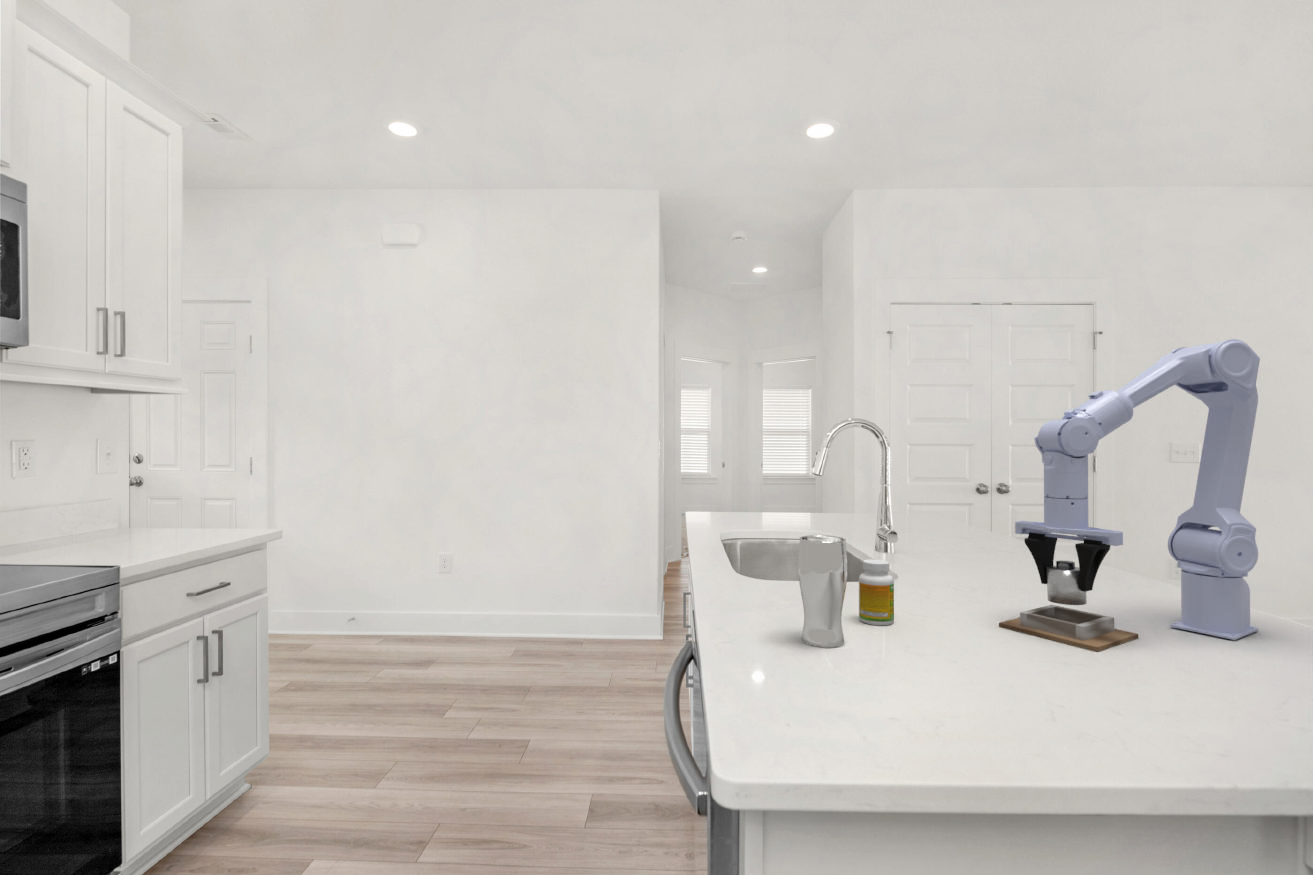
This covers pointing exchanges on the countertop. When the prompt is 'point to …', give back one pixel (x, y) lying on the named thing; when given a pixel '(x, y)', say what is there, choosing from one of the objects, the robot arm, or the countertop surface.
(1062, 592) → the chrome knobbed weight
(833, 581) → the beer glass
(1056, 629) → the carrier board
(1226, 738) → the countertop surface
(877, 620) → the supplement bottle
